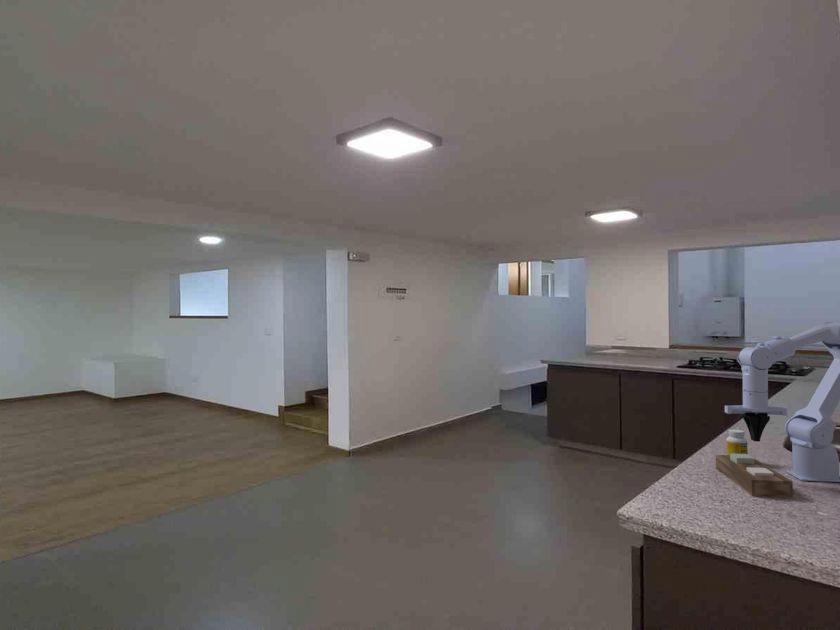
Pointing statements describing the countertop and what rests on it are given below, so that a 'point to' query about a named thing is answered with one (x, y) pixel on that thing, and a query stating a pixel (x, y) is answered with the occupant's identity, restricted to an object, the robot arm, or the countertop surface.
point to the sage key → (742, 459)
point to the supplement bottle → (736, 442)
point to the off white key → (759, 471)
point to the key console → (755, 478)
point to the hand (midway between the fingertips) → (755, 440)
